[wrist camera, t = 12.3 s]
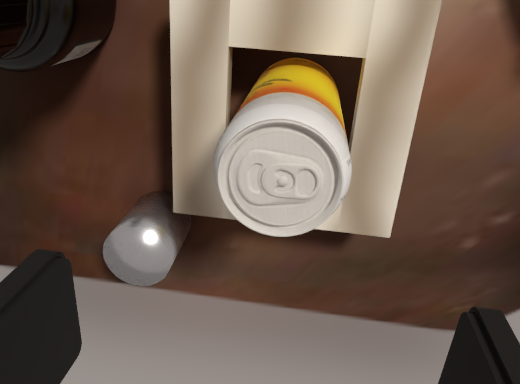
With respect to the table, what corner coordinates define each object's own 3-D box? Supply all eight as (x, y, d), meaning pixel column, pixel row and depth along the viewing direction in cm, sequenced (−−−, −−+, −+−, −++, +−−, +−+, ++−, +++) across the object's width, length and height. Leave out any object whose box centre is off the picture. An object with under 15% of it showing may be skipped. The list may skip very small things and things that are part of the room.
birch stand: (423, -6, 28) (442, -4, 24) (380, 204, 35) (389, 237, 30) (191, -23, 30) (169, -24, 25) (191, 184, 36) (173, 212, 32)
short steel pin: (191, 194, 36) (169, 231, 31) (191, 247, 39) (170, 289, 33) (132, 188, 37) (100, 223, 31) (135, 240, 39) (105, 281, 34)
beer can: (254, 54, 31) (205, 107, 18) (342, 57, 31) (361, 114, 17) (253, 137, 34) (209, 239, 20) (334, 142, 33) (345, 250, 20)
